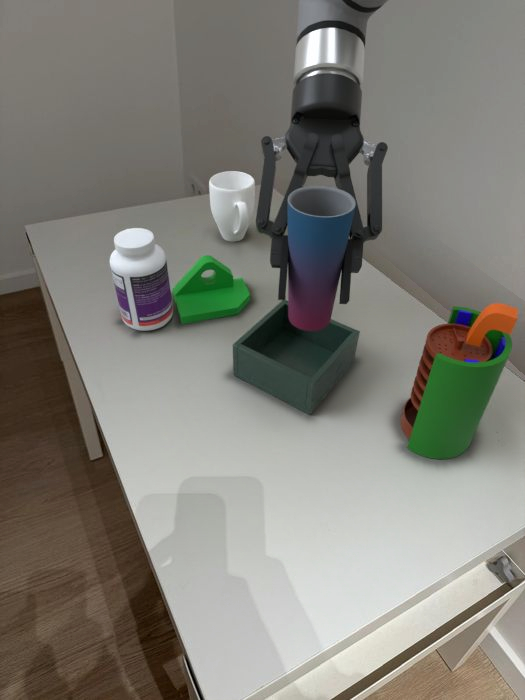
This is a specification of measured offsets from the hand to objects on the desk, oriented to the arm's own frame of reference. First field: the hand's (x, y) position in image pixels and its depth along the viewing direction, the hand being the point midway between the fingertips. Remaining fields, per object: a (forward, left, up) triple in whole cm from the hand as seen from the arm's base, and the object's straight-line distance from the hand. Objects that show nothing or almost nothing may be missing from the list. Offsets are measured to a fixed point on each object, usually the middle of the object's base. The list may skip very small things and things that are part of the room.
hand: (312, 299), depth 55 cm
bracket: (+24, -12, -19) cm, 33 cm away
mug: (+33, -30, -19) cm, 48 cm away
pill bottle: (+30, -3, -19) cm, 36 cm away
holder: (+5, -7, -19) cm, 20 cm away
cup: (+2, -3, -6) cm, 7 cm away
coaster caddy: (-15, -8, -19) cm, 26 cm away
